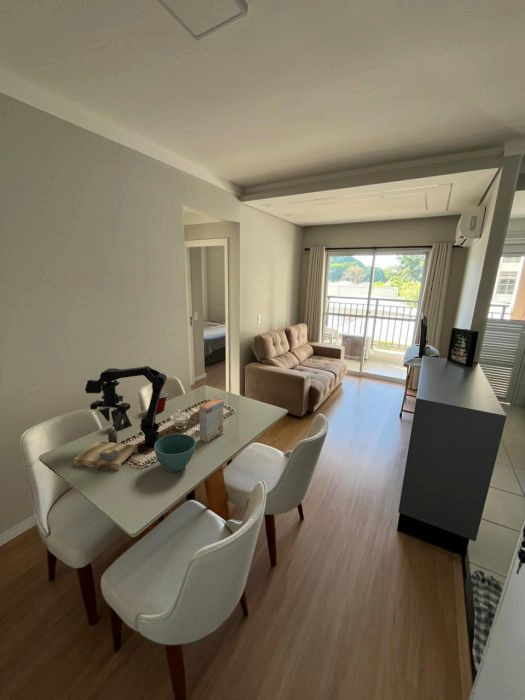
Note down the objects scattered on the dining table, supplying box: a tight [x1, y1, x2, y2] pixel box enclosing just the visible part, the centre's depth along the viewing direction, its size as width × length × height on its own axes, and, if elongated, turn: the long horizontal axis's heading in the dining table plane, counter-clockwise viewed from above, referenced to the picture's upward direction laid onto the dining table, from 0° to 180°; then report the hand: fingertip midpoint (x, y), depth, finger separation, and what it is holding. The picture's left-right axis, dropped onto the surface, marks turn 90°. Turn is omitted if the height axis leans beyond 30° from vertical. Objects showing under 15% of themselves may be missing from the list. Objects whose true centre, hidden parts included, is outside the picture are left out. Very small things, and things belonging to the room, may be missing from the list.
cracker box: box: [198, 398, 224, 444], centre depth 161 cm, size 14×6×21 cm, turn 146°
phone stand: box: [111, 411, 133, 432], centre depth 168 cm, size 9×6×12 cm, turn 142°
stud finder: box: [100, 449, 118, 461], centre depth 133 cm, size 6×4×3 cm, turn 84°
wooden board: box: [73, 440, 138, 472], centre depth 138 cm, size 22×19×3 cm
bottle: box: [107, 426, 118, 443], centre depth 150 cm, size 4×4×10 cm
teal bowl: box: [153, 433, 196, 473], centre depth 133 cm, size 18×18×12 cm
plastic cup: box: [150, 391, 168, 413], centre depth 192 cm, size 11×11×12 cm
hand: (111, 421), depth 148 cm, fingers open, 3 cm apart
